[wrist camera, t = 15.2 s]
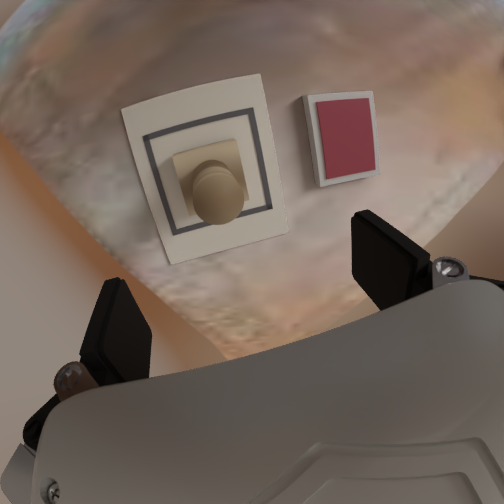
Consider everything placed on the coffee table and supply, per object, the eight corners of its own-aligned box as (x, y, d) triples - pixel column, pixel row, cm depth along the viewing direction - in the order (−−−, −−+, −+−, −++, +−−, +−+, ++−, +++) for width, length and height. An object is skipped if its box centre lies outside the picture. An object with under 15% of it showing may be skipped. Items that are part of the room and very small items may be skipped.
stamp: (173, 153, 26) (165, 172, 18) (232, 137, 27) (252, 149, 18) (189, 207, 29) (189, 249, 21) (244, 192, 30) (267, 228, 21)
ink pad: (301, 95, 26) (308, 95, 25) (365, 91, 27) (373, 90, 25) (315, 183, 31) (321, 187, 30) (373, 171, 32) (381, 175, 30)
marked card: (121, 109, 23) (120, 109, 23) (259, 73, 24) (260, 73, 24) (171, 263, 32) (171, 265, 32) (288, 231, 33) (289, 232, 33)
